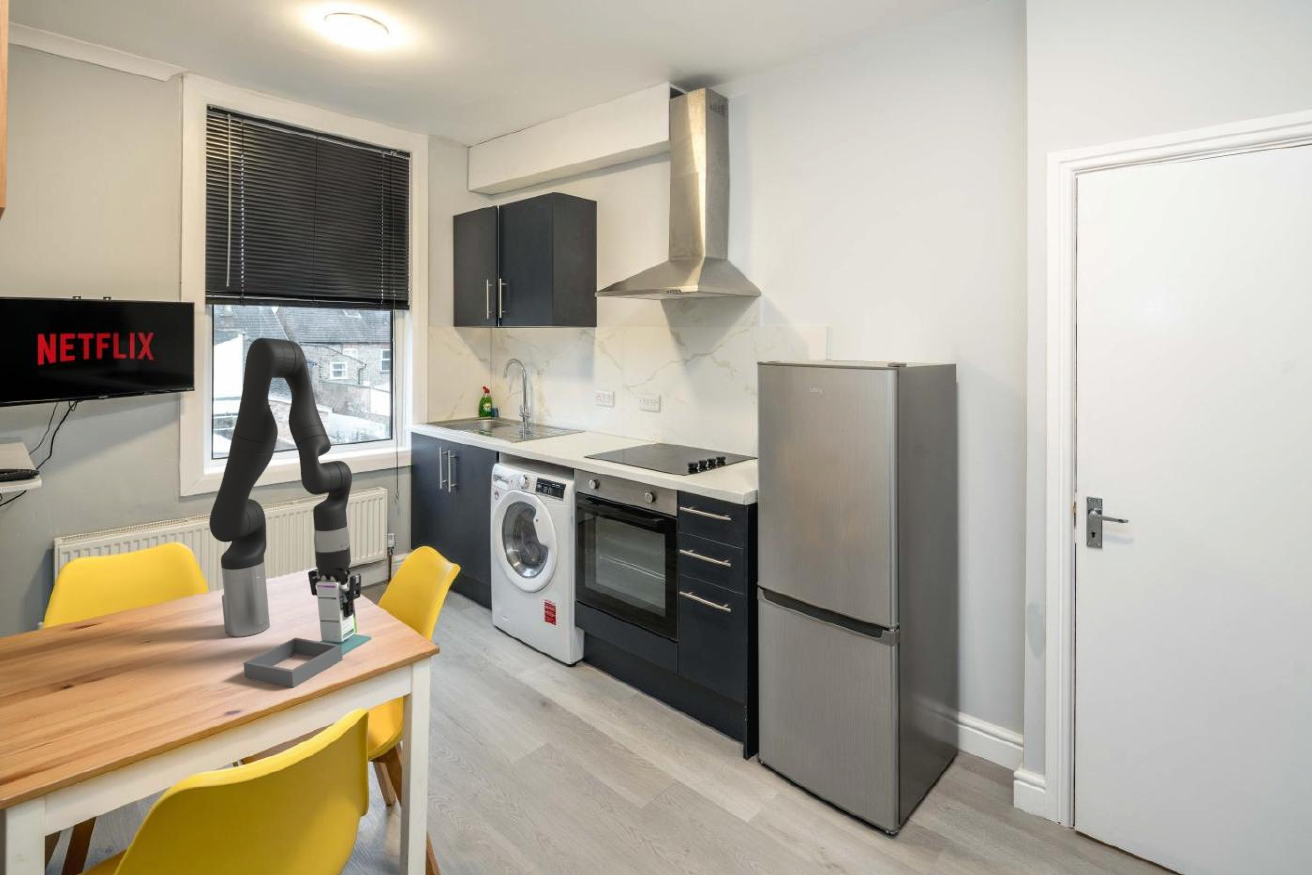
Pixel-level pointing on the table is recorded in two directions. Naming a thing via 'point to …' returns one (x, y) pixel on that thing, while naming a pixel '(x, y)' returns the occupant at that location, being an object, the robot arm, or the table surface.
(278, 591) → the table surface
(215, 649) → the table surface
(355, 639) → the mat
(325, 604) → the syrup box
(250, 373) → the robot arm
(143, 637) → the table surface
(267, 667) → the bin
